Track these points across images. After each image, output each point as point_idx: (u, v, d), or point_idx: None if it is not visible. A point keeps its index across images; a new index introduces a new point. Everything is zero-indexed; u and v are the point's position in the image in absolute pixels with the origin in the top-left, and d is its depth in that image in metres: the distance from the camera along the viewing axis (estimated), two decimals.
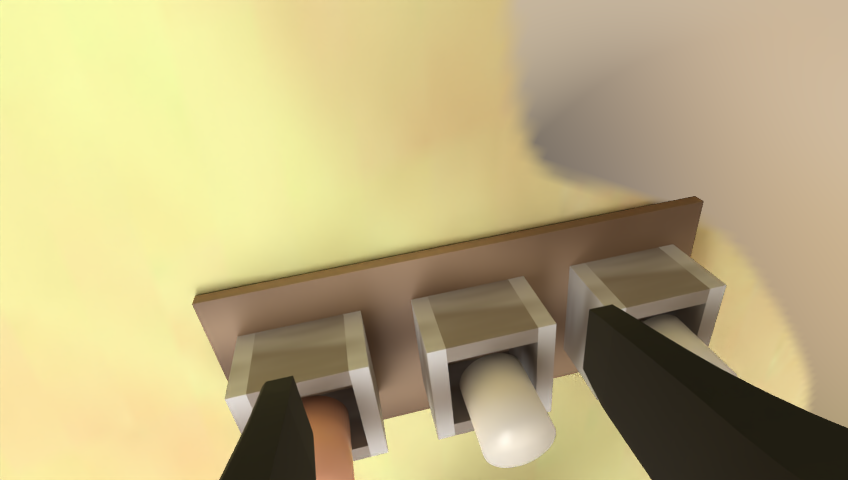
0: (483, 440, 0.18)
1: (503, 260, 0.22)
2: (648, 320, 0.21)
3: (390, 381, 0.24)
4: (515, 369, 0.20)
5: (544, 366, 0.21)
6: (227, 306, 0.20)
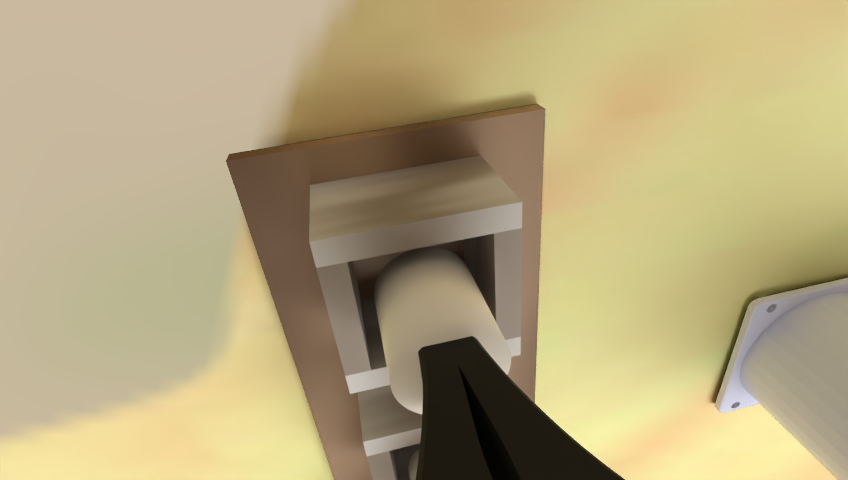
0: None
1: (331, 388, 0.19)
2: None
3: None
4: None
5: None
6: None
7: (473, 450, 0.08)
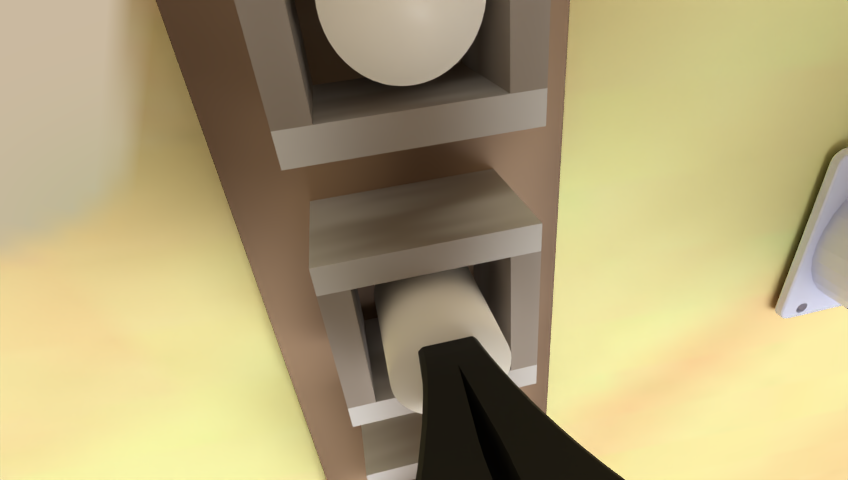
0: None
1: (278, 238, 0.14)
2: None
3: None
4: (383, 295, 0.13)
5: (415, 263, 0.11)
6: None
7: (473, 450, 0.08)
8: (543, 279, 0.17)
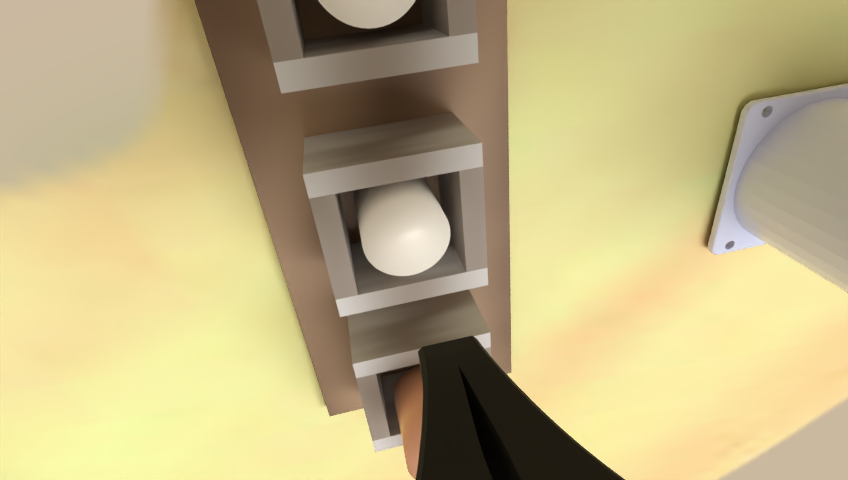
0: (397, 273, 0.16)
1: (279, 168, 0.17)
2: None
3: None
4: (359, 193, 0.17)
5: (384, 173, 0.14)
6: (333, 397, 0.24)
7: (473, 450, 0.08)
8: (500, 211, 0.20)
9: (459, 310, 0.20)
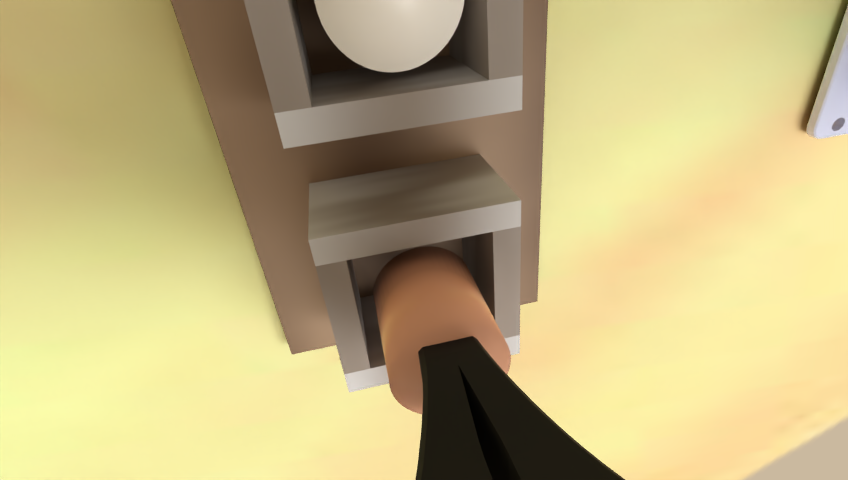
0: (376, 69, 0.10)
1: None
2: None
3: (461, 136, 0.15)
4: None
5: None
6: (296, 326, 0.17)
7: (473, 450, 0.08)
8: (533, 38, 0.14)
9: (473, 180, 0.14)
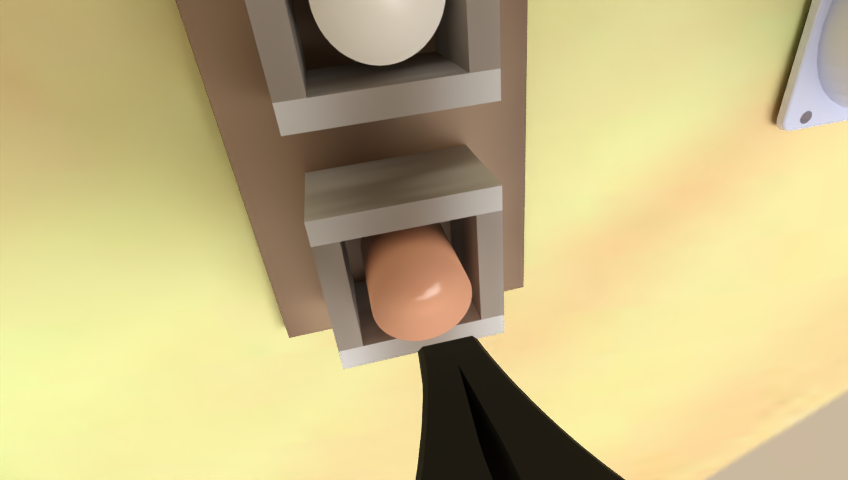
0: (365, 62, 0.11)
1: None
2: None
3: (448, 128, 0.16)
4: None
5: None
6: (293, 310, 0.18)
7: (473, 450, 0.08)
8: (514, 35, 0.15)
9: (458, 168, 0.15)
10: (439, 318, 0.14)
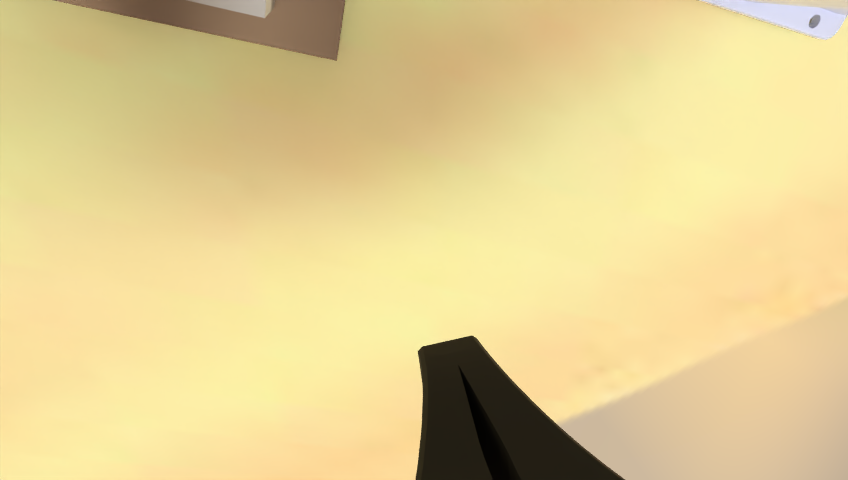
0: None
1: None
2: None
3: None
4: None
5: None
6: None
7: (473, 450, 0.08)
8: None
9: None
10: None
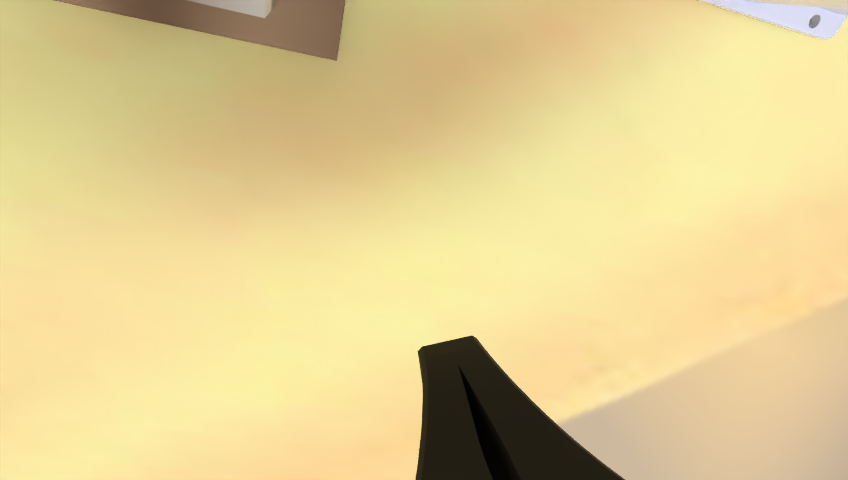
0: None
1: None
2: None
3: None
4: None
5: None
6: None
7: (473, 450, 0.08)
8: None
9: None
10: None
